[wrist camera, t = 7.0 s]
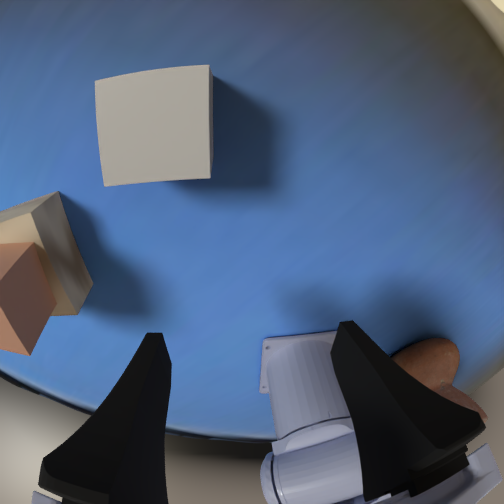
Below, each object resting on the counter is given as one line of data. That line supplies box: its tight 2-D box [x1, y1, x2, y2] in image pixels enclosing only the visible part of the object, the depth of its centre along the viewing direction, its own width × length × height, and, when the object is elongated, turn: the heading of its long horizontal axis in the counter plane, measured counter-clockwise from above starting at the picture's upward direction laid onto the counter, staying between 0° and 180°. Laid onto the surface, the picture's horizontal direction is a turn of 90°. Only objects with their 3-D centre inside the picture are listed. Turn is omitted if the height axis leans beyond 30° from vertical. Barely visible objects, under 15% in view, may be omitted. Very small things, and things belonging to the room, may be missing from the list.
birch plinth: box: [0, 191, 93, 316], centre depth 16 cm, size 8×8×4 cm
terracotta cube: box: [0, 242, 57, 356], centre depth 12 cm, size 5×5×5 cm
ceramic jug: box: [391, 338, 488, 423], centre depth 25 cm, size 18×14×14 cm
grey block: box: [95, 65, 214, 187], centre depth 12 cm, size 5×5×5 cm
